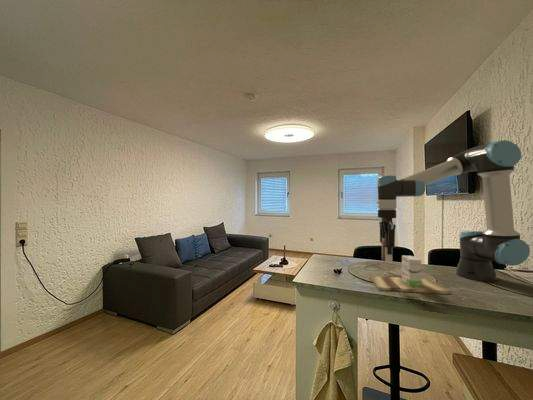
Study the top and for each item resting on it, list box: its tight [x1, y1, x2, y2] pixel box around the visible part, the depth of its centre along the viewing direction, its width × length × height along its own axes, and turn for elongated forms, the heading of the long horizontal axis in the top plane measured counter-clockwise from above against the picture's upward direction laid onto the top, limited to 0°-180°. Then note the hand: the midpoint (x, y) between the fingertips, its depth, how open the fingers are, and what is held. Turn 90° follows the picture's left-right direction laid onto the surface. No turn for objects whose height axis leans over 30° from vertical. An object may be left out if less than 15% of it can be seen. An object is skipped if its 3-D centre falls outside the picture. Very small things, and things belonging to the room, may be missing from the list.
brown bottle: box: [381, 235, 386, 262], centre depth 104 cm, size 4×4×12 cm
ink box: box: [401, 254, 423, 287], centre depth 102 cm, size 9×5×12 cm, turn 171°
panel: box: [368, 275, 451, 295], centre depth 103 cm, size 28×14×1 cm, turn 81°
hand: (386, 259), depth 104 cm, fingers closed on brown bottle, 4 cm apart
